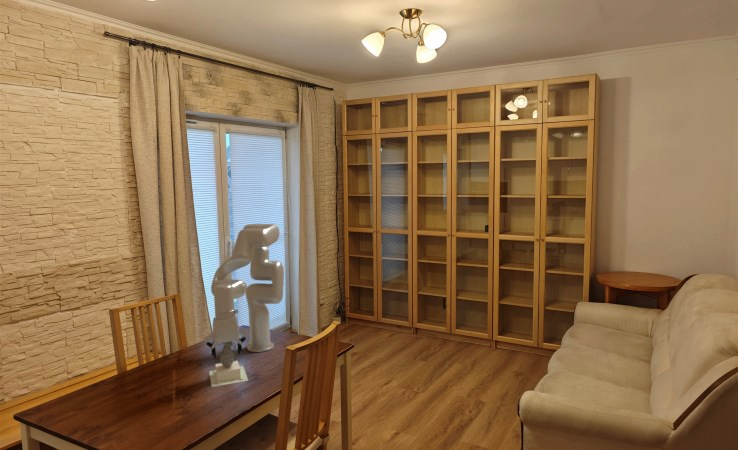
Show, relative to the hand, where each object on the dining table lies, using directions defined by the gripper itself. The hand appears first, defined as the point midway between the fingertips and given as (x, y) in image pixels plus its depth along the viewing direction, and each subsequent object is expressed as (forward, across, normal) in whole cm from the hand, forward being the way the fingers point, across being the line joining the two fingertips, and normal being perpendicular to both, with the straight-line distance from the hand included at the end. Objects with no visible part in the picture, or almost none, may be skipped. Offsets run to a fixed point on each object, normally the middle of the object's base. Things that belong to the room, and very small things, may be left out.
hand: (227, 355), depth 194 cm
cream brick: (+9, 0, 0) cm, 9 cm away
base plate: (+10, 0, 0) cm, 10 cm away
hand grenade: (+5, 0, 0) cm, 5 cm away
